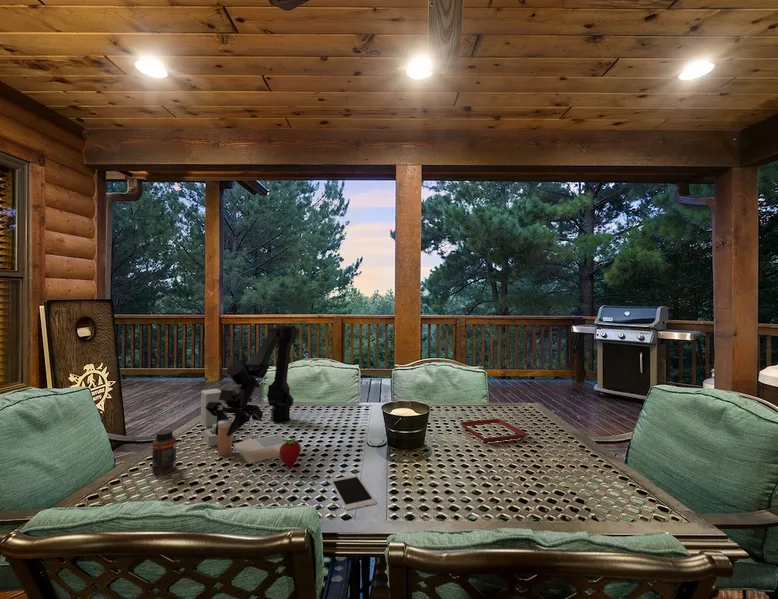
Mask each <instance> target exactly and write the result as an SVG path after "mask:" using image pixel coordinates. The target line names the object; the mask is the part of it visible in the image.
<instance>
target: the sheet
mask: <svg viewBox="0 0 778 599" xmlns="http://www.w3.org/2000/svg"><path fill="white" fill-rule="evenodd" d="M283 440H286V438H284V437H283V436H281V435H280V434H279V433H277V434H272V435H268V436H262V437H258V438H253V439H249V440H244V441H239V442H236V443H234V442H233V443H232V446H233V445H234V446H233V447H234V448H235V449H237V450H238V451H239V452H238V451H237V450H236V451H237V452H238V453H239V454H240V456H241V457H242V456H243V457H244V458H243V457H242V458H243V459H244V460H245V462H246V463H247V462H248V463H247V464H248V465H250V464H255V463H258V462H257V461H259V462H263V461H266V459H267V460H271V459H275V458H279V457H280V453H279V452H280V447H281V446H282V445H283V444H284V443H286V441H283ZM262 460H263V461H262Z"/></svg>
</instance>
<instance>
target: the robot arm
mask: <svg viewBox="0 0 778 599" xmlns="http://www.w3.org/2000/svg"><path fill="white" fill-rule="evenodd" d="M297 335H298V328H296V326H295V325H292V324H291V325H290V324H289V325H287V324H279V325H278V326H277V327H275V326H274V327H270V328H269V329H268V331H267V335H266V337H265V339H264V340H263V342H262V343H261V345H260V347H259V349H258V351H257V352H256V354H254V355H252V356H251V357H250V358H248V360H247V362H246V363H245V360H244V359H237V361H235V362H233V363H231V364H230V365H229V366H227V368H226V374H227V375H228V377H229V378H230V380H232V382H233V383H234V384H235V385H237V387H236V389H233V390H230V389H229V390H228V389H221V390H220V391H221V393H220V396H219V400H223V401H224V402H223V403H224V404H225V405H224V404H223V405H222V404H221V403H220V402H214V401H211V402H208V404H207V406H206V407H205V408H206V409H207V410H208V411H209V412H210V413H211V414H212V415H213V416H217V424H216V431H215V434H216V435H218V422H219V421H221V420H226V419H230V418H229V417H228V414H234V419H233V420H232V424H231V426H230V428H229V430H228V433H227V436H230V435H232V434H233V433H235V432H236V431H237V430H238V429H240V428H241V427H242V426H244V425H245V424H247V423H249V422H251V419H252V420H253V421H256V422H257V421H258V422H260V421H261V420H262V419H263V416H264V414H263V413H264V412H263V411H262V410H261V408H259V406H258V405H257V404H249V403H252V401H253V399H252V395H253V394H254V391H255V390H256V388H257V389H260V386H261V385H260V383H259V380H258V379H257V378H264V377H265V376H266V375H267V373H268V370H269V368H270V365H269V360H270V358H271V356H272V354H273V353H274V350H275V349H276V347H277V346H278V348H277V350H278V351H277V357H276V366H275V373H274V380H273V381H272V383H271V384H269V385H268V387H267V393H266V394H267V395H266V398H267V402H268V406H269V407H271V409H270V420H271V421H272V422H273V423H275V424H281V423H285V422H289V421H292V419H291V417H290V414H291V413H290V408H291V407H293V404H294V398H293V397H292V396H293V395H291V391H290V390H291V389H290V385H289V384H288V381H287V380H288V373H289V372H288V371H289V366H290V365H289V364H290V363H289V362H290V356H291V348H292V346H293V344H295V342H296V339H297V337H298V336H297ZM226 405H227V406H226ZM250 418H251V419H250Z"/></svg>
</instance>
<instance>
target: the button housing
mask: <svg viewBox="0 0 778 599" xmlns="http://www.w3.org/2000/svg"><path fill="white" fill-rule="evenodd" d="M234 433H235V432H234ZM234 433H233V434H232V441H235V440H234V439H235V438H234V437H235V436H234V435H235V434H234ZM203 442H205V444H206V446H207V447H208V448H211V446H212V447H216V446H218V435H216V434H212V428H207V429H204V430H203ZM215 445H216V446H215Z"/></svg>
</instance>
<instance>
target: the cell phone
mask: <svg viewBox="0 0 778 599" xmlns="http://www.w3.org/2000/svg"><path fill="white" fill-rule="evenodd" d="M330 483H331V485H332V487H333V488H334V490H335V493H336V494H337V496H338V498H339V500H340V502H341V503H342V505H343V507H344V509H345V511H350V510H351V511H352V510H356V509H359V508H358V507H361V506H365V507H367V506H366V505H370V506H372V505H371V504H374V505H376V504H377V501H376V499H375V498H374V497H373V495H372V494H371V493H370V491H369V490H368V488H367V487H366V485H365V484H364V483H363V482H362V479H360V477H359V475H357V474H353V475H347V476H343V477H337V478H331V479H330ZM375 503H376V504H375ZM355 508H356V509H355ZM361 508H362V507H361Z"/></svg>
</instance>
